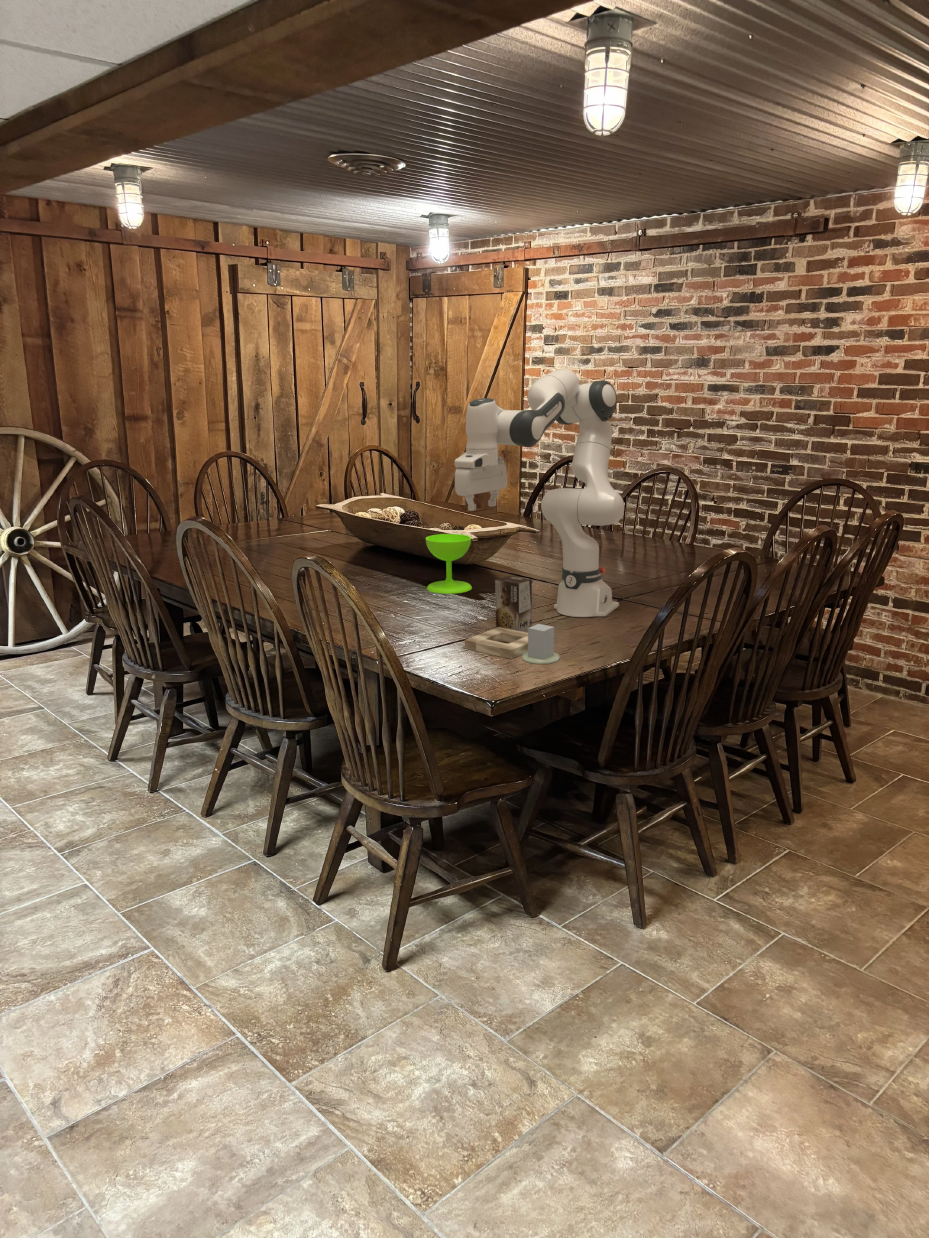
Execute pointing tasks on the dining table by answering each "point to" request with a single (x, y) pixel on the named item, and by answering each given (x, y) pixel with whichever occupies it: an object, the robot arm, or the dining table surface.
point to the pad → (538, 661)
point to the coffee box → (514, 603)
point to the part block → (541, 641)
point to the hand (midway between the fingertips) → (482, 508)
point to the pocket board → (493, 646)
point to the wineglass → (448, 560)
